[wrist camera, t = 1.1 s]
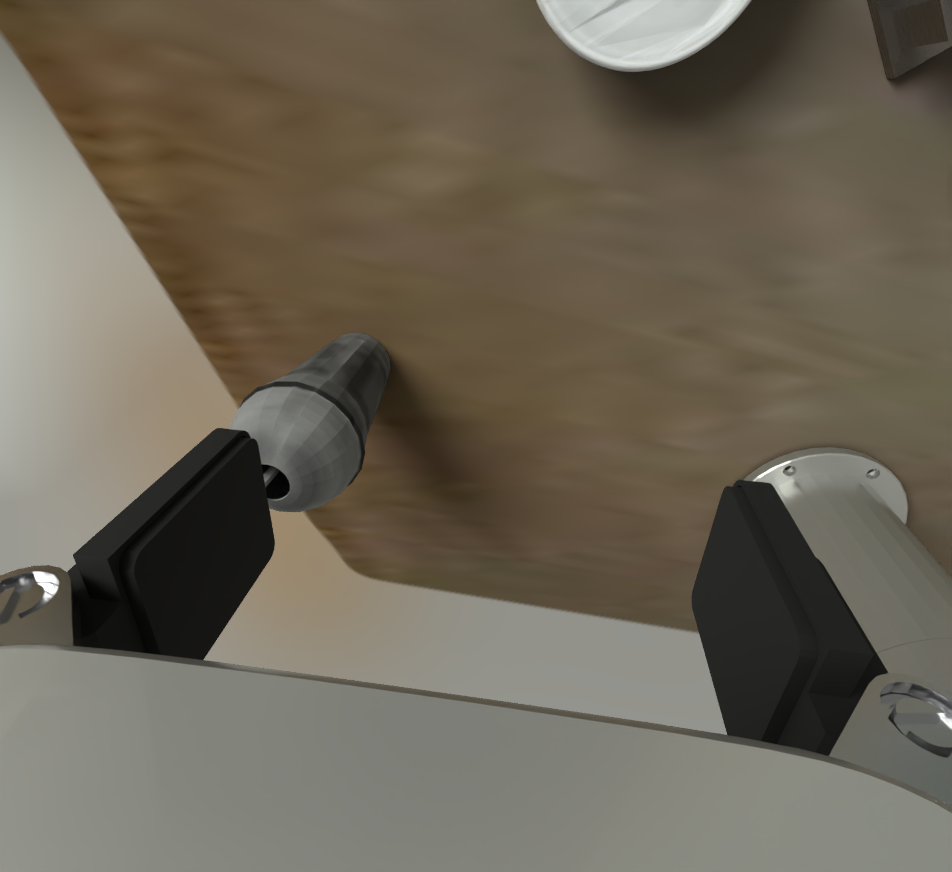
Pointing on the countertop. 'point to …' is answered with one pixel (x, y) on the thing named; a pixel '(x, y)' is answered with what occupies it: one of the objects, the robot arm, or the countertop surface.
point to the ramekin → (639, 29)
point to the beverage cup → (316, 422)
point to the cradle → (910, 31)
